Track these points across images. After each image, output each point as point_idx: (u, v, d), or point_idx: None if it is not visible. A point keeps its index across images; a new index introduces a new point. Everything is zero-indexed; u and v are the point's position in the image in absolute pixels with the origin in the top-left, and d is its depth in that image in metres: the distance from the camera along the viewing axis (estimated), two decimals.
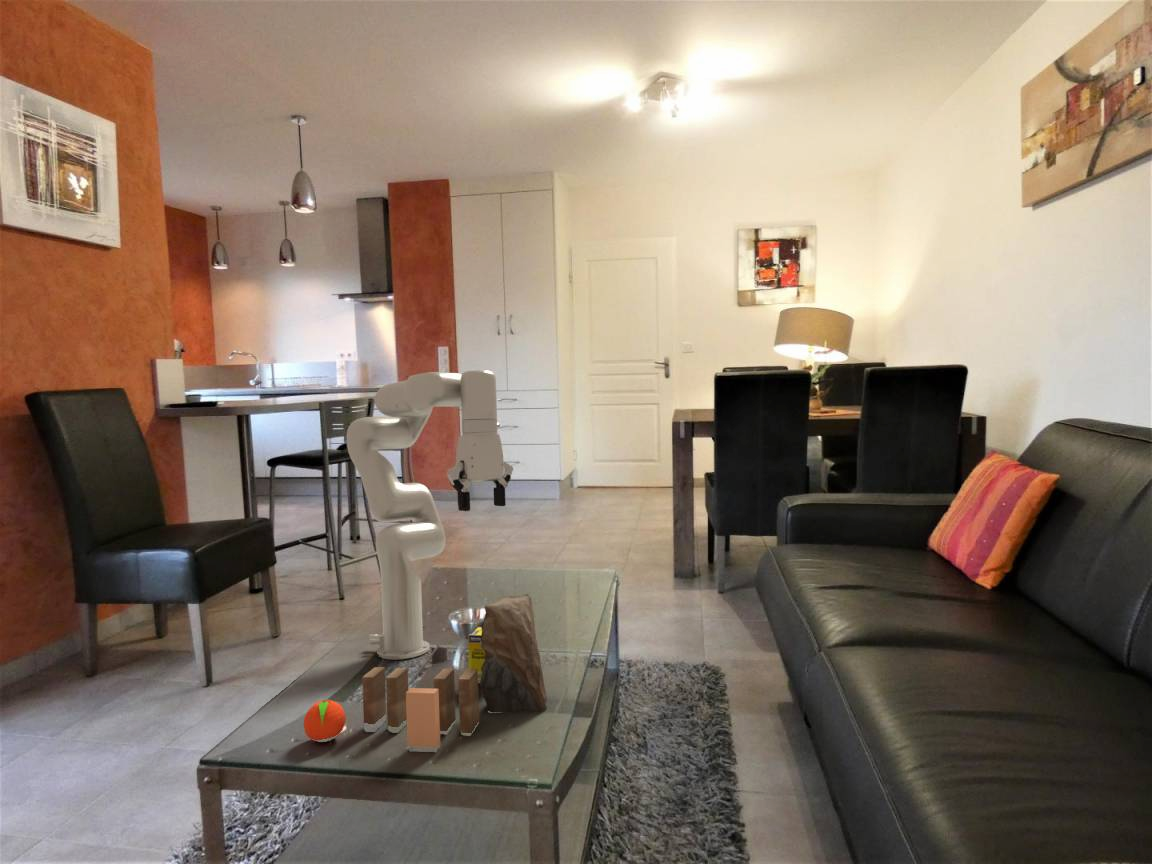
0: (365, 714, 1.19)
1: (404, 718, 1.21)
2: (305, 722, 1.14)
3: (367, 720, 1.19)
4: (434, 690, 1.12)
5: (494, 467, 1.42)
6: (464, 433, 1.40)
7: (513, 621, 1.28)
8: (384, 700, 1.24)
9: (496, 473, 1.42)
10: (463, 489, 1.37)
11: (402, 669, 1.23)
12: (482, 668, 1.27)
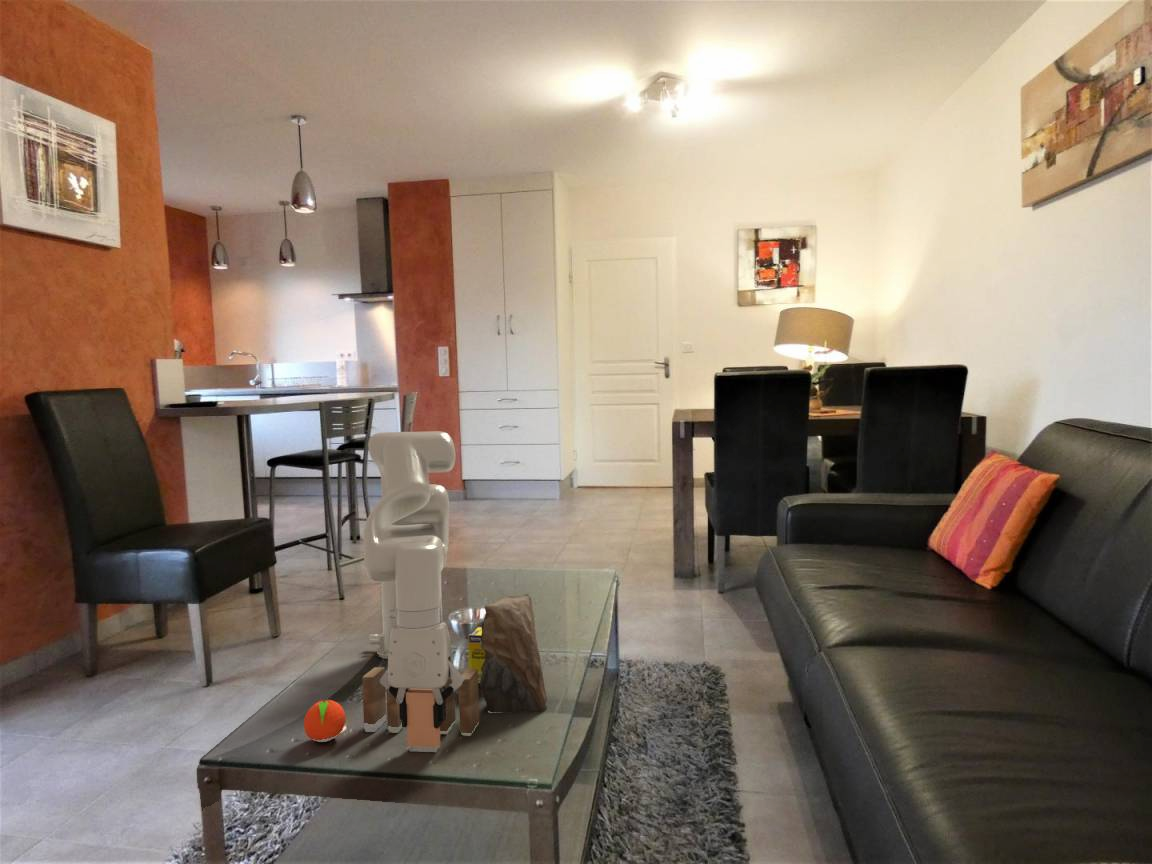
0: (365, 714, 1.19)
1: None
2: (305, 722, 1.14)
3: (367, 720, 1.19)
4: None
5: None
6: (439, 623, 1.11)
7: (513, 621, 1.28)
8: (384, 700, 1.24)
9: None
10: None
11: None
12: (482, 668, 1.27)
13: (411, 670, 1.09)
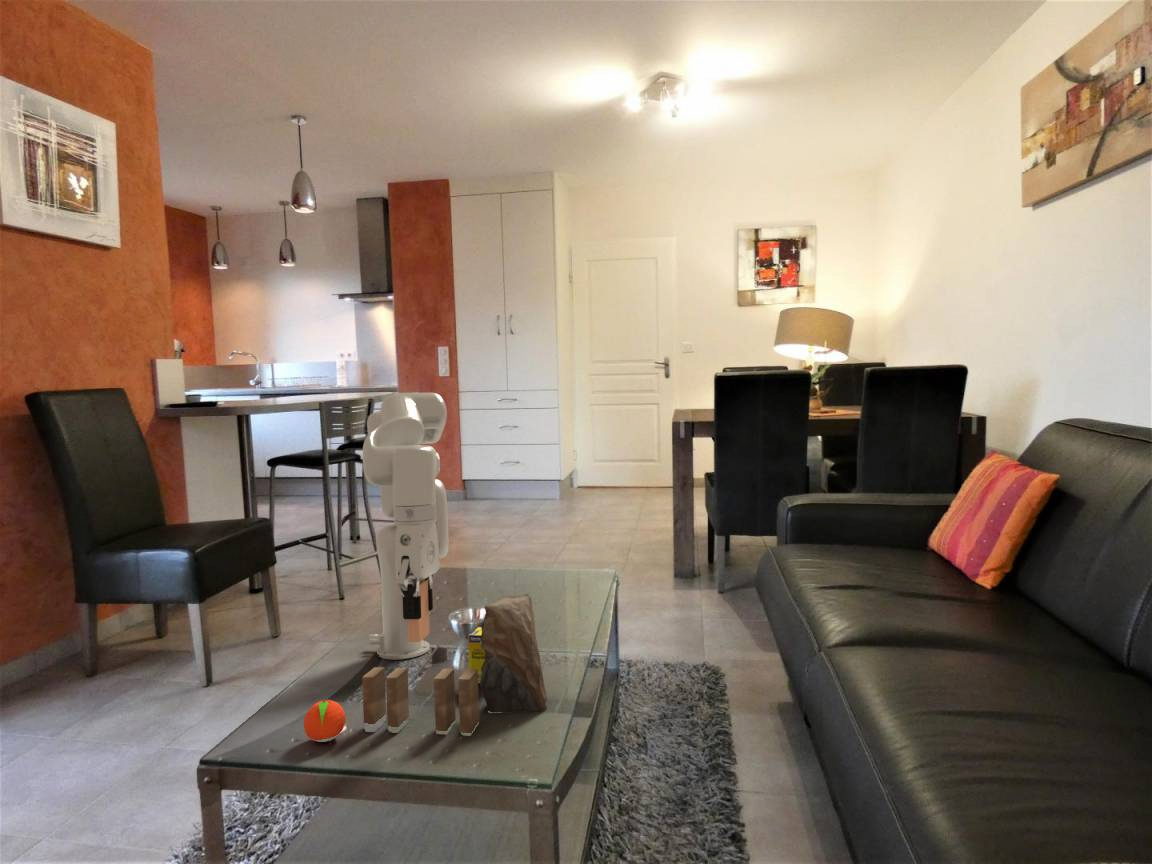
0: (365, 714, 1.19)
1: (404, 718, 1.21)
2: (305, 722, 1.14)
3: (367, 720, 1.19)
4: (420, 580, 1.23)
5: None
6: None
7: (513, 621, 1.28)
8: (384, 700, 1.24)
9: None
10: None
11: (402, 669, 1.23)
12: (482, 668, 1.27)
13: (429, 559, 1.20)
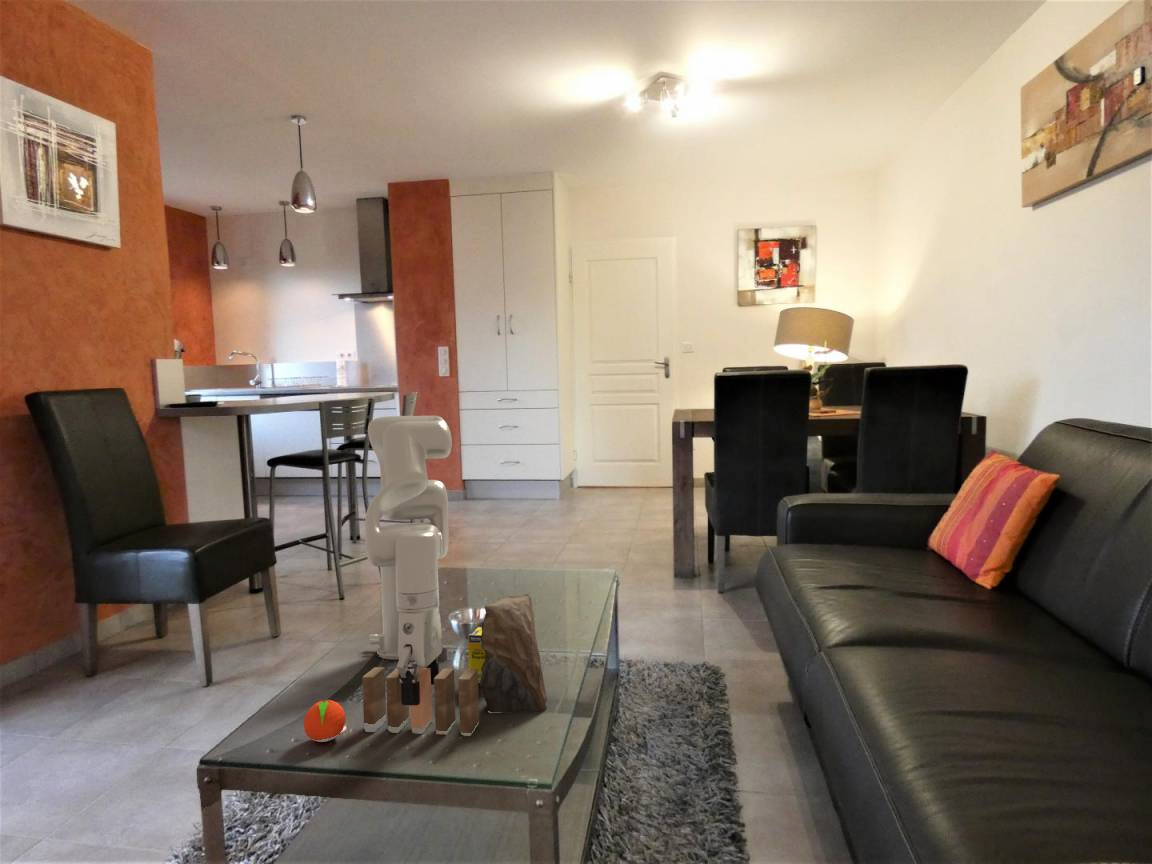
0: (365, 714, 1.19)
1: (404, 718, 1.21)
2: (305, 722, 1.14)
3: (367, 720, 1.19)
4: (423, 668, 1.23)
5: None
6: None
7: (513, 621, 1.28)
8: (384, 700, 1.24)
9: None
10: None
11: None
12: (482, 668, 1.27)
13: (432, 645, 1.20)
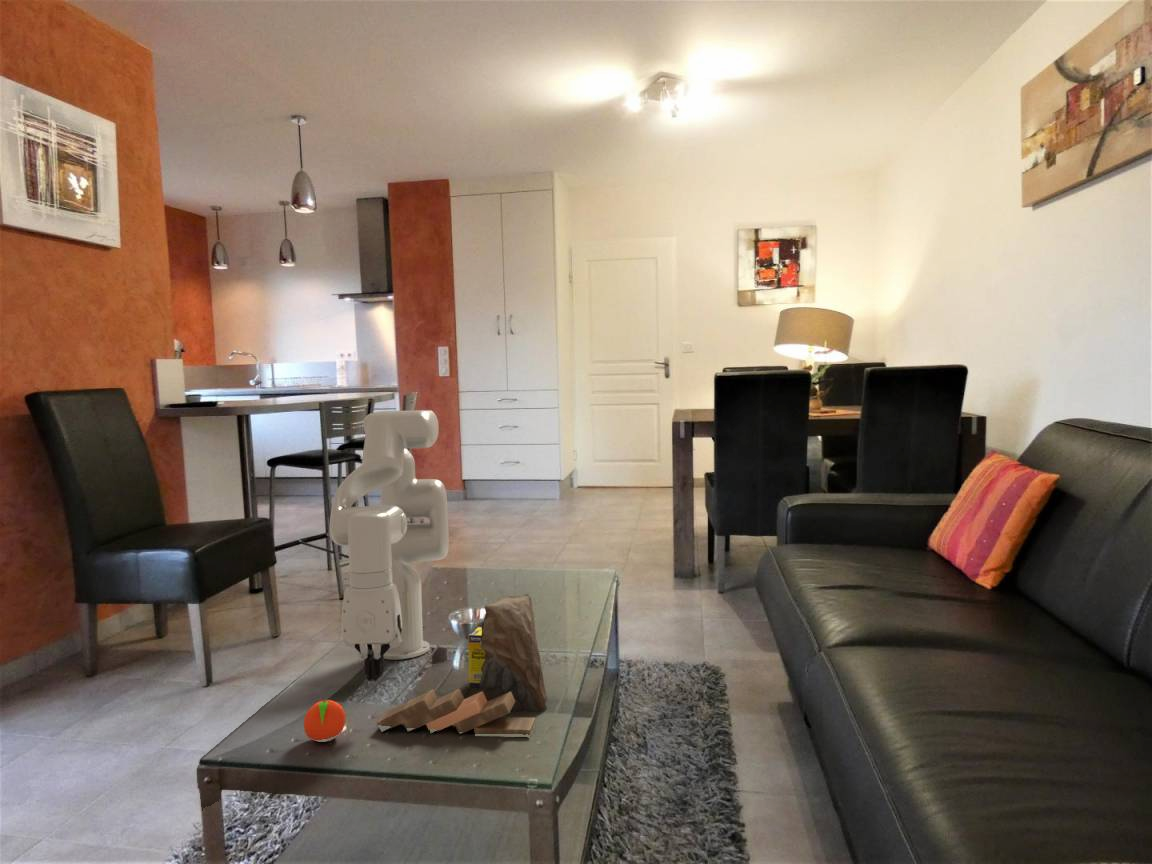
0: (392, 717, 1.19)
1: None
2: (305, 722, 1.14)
3: (388, 721, 1.19)
4: (483, 696, 1.21)
5: None
6: (389, 585, 1.21)
7: (513, 621, 1.28)
8: None
9: None
10: None
11: (461, 696, 1.21)
12: (482, 668, 1.27)
13: (362, 627, 1.19)
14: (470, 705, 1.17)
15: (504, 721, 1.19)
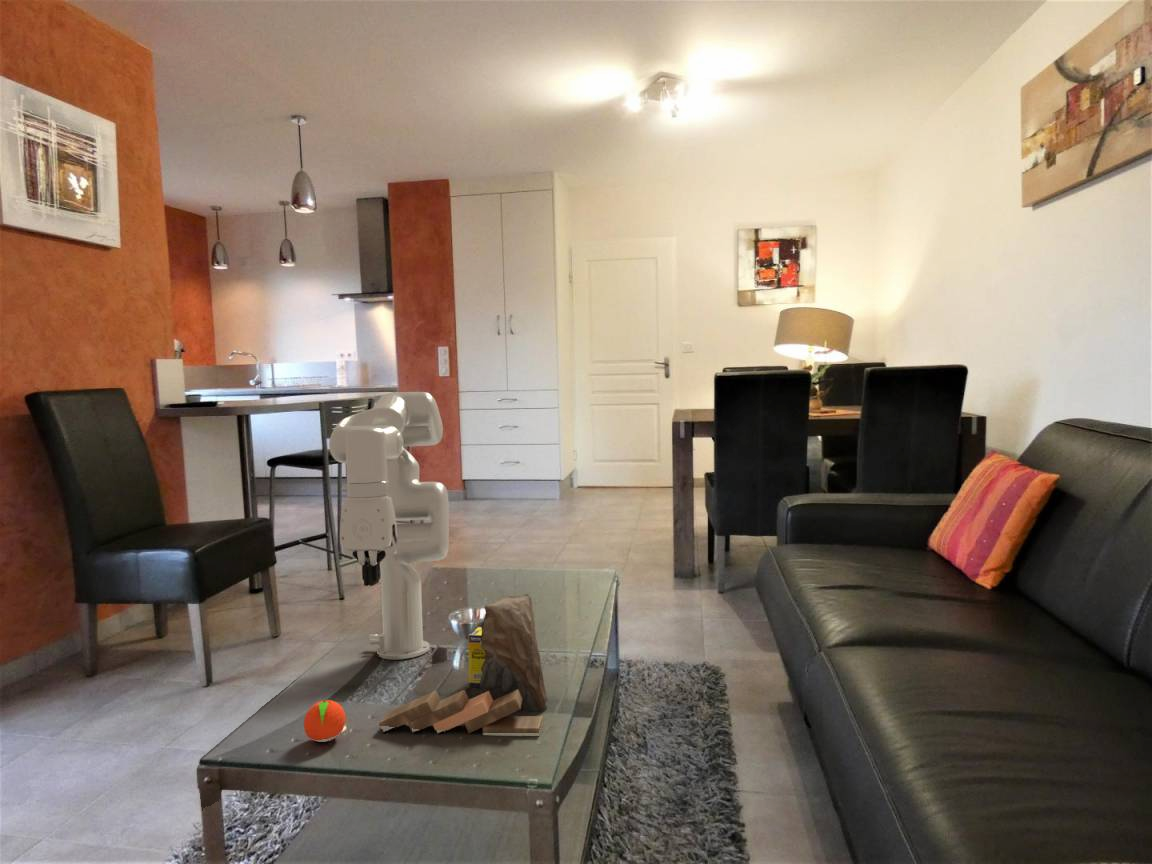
0: (395, 718, 1.19)
1: None
2: (305, 722, 1.14)
3: (390, 722, 1.19)
4: (490, 695, 1.21)
5: None
6: (384, 496, 1.28)
7: (513, 621, 1.28)
8: None
9: None
10: None
11: (466, 698, 1.21)
12: (482, 668, 1.27)
13: (359, 534, 1.27)
14: (477, 705, 1.17)
15: (512, 720, 1.19)
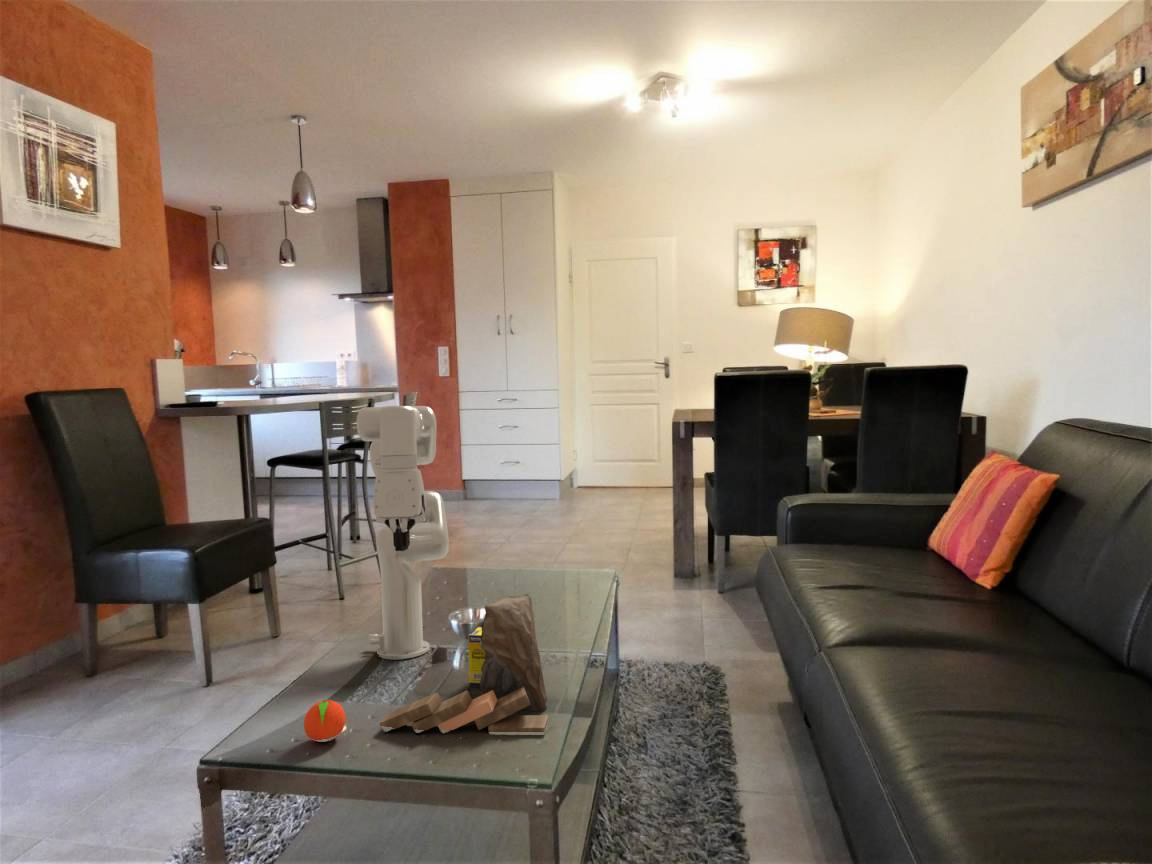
0: (395, 718, 1.18)
1: None
2: (305, 722, 1.14)
3: (391, 722, 1.18)
4: (494, 695, 1.22)
5: None
6: (414, 468, 1.40)
7: (513, 621, 1.28)
8: None
9: None
10: None
11: (469, 698, 1.21)
12: (482, 668, 1.27)
13: (392, 503, 1.38)
14: (482, 704, 1.17)
15: (518, 720, 1.19)
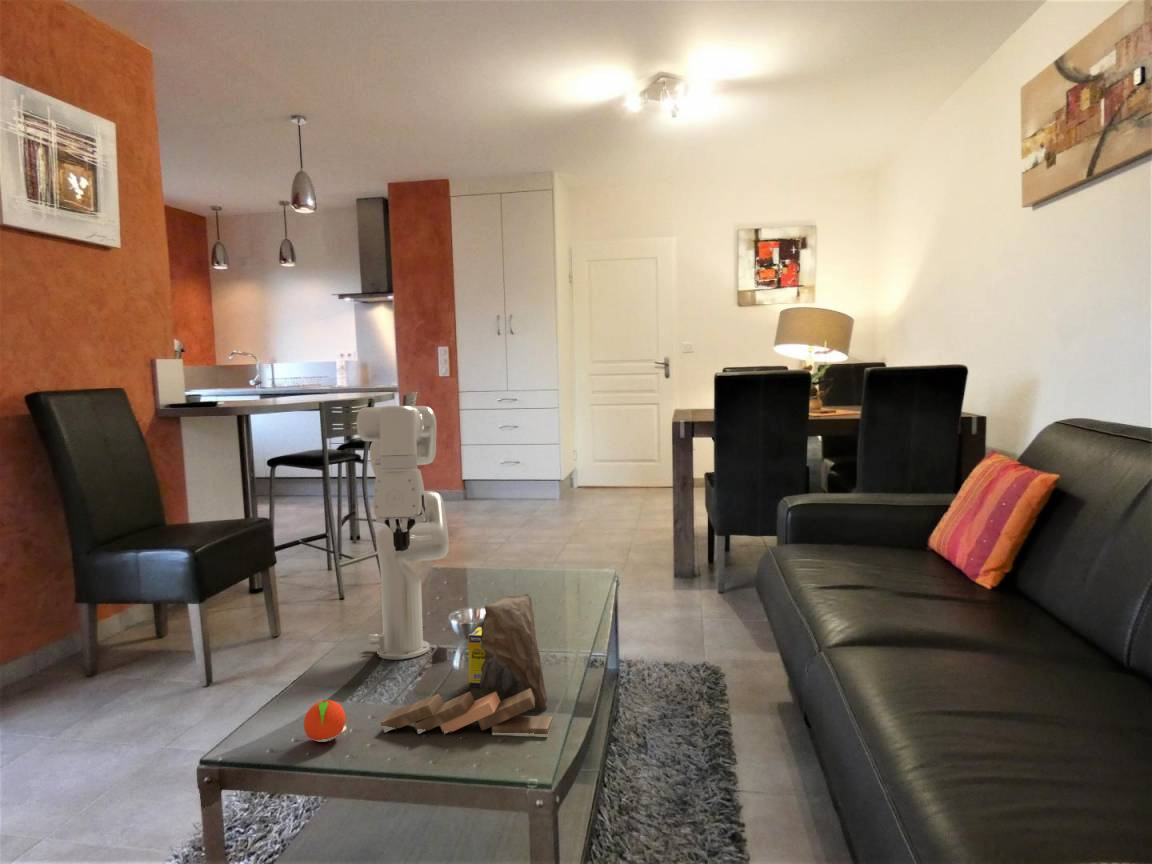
0: (396, 719, 1.18)
1: None
2: (305, 722, 1.14)
3: (392, 722, 1.18)
4: (497, 696, 1.21)
5: None
6: (414, 468, 1.40)
7: (513, 621, 1.28)
8: None
9: None
10: None
11: (472, 699, 1.21)
12: (482, 668, 1.27)
13: (392, 503, 1.38)
14: (484, 706, 1.16)
15: (522, 720, 1.19)
